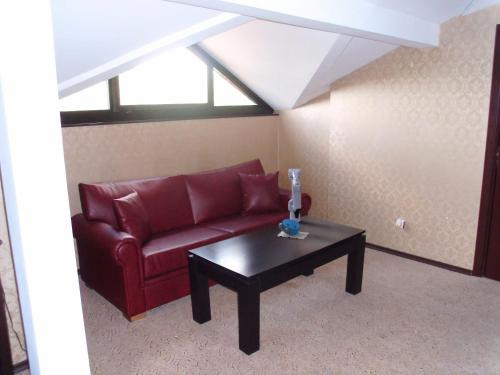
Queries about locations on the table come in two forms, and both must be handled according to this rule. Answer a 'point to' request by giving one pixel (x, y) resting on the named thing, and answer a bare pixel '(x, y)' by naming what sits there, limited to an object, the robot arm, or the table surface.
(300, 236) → the mat
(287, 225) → the alarm clock
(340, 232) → the table surface
